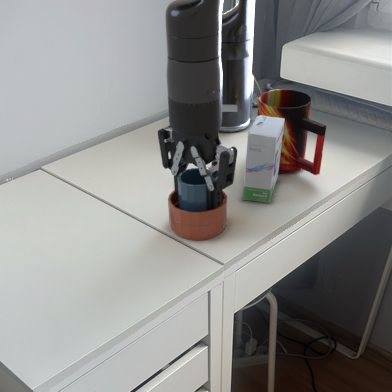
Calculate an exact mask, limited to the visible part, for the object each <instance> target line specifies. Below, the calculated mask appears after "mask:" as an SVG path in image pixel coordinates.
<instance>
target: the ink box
mask: <svg viewBox="0 0 392 392" xmlns="http://www.w3.org/2000/svg"><path fill="white" fill-rule="evenodd" d="M284 121H285V119H284V118H276V117H268V116H258V115H257V116H256V117H255V119H254V122H253V123H252V125H251V127H249V130H248V134H247V144H246V156H245V167H244V168H245V169H244V181H243V194H242V200H243V201H249V202H258V203H265V204H266V203H267V204H269V203H271V202H270V201H271V199H272V197H273V193H274V190H275V187H276V184H277V181H278V179H279V178H278V177H279V174H278V171H279V163H280V154H281V146H282V138H283V129H284Z"/></svg>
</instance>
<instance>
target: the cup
mask: <svg viewBox="0 0 392 392" xmlns="http://www.w3.org/2000/svg"><path fill="white" fill-rule="evenodd" d="M212 177H213V180H215V178H214V175H213V173H212ZM207 189H208V187H207V184H206V181H205V178H204V177H202V176H201V174H200V172H199V169H198V167H191V168H187V169H186V170H184V171H182V172H180V174H179V175H178V195H179V209H181V210H184V211H189V212H204V211H208V210H207Z"/></svg>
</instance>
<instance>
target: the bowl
mask: <svg viewBox="0 0 392 392" xmlns="http://www.w3.org/2000/svg"><path fill="white" fill-rule="evenodd" d="M221 198H222V203H221V205H220V206H219V207H217V208H215V209H212V210H209V211H204V212H189V211H184V210H181V209H179V198H178V197H176V193H175V190H174V189H173V190H172V191H171V192H170V193H169V195H168V197H167V207H168V221H169V223H168V224H169V227H170V228H171V231H172V232H173V233H174V234H175V235H176V236H178V237H179V238H181V239H185V240H190V241H205V240H209V239H214V238H216V237H218V236H219V235H221V234H222V233H223V232H224V230H225V228H226V226H227V222H228V220H227V219H228V195H227V193H226V192H225V191H224V189H223V190H222V197H221Z"/></svg>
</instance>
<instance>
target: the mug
mask: <svg viewBox="0 0 392 392" xmlns="http://www.w3.org/2000/svg"><path fill="white" fill-rule="evenodd" d="M257 103H258V106H257V116H268V117H276V118H284V119H285V121H284V129H283V138H282V146H281V154H280V163H279V171H278V175H287V174H293V173H296V172H299V171H300V170H303V171H306V172H307V173H310V174H312V175H314V176H318V175H320V173H321V167H322V160H323V150H324V144H325V139H326V132H327V125H326V124H324V123H321V122H319V121H315V120H312V119H311V114H312V107H313V106H312V105H313V96H312V95H310V94H308V93H307V92H304V91H302V90H298V89H297V90H296V89H289V88H283V89H282V88H281V89H279V88H278V89H274V90H271V91H269V90H268V91H264V92H262V93H261V94H260V95H259V96H258V102H257ZM309 133H312V134H314V135H316V142H315V147H314V155H313V162H312V161H310V160H308V159H306V152H307V144H308V137H309Z"/></svg>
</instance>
